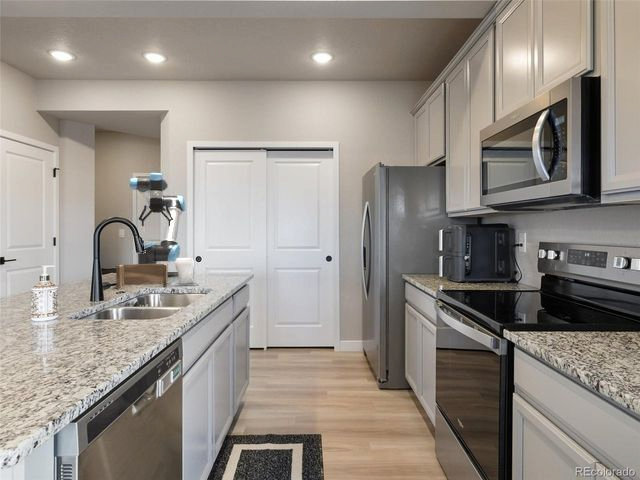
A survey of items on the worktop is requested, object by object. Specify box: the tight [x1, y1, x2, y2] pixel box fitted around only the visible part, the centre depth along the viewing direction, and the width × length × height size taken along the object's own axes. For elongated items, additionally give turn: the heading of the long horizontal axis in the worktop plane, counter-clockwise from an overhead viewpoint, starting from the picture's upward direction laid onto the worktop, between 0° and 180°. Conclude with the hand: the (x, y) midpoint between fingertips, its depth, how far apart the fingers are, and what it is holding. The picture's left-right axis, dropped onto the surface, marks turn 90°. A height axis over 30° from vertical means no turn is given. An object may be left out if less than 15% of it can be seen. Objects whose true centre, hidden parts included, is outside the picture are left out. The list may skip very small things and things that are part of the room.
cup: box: [175, 257, 195, 284], centre depth 226 cm, size 11×11×15 cm
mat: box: [170, 280, 199, 287], centre depth 226 cm, size 15×15×1 cm
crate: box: [115, 263, 169, 290], centre depth 220 cm, size 17×26×13 cm, turn 109°
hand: (156, 231), depth 237 cm, fingers open, 13 cm apart
